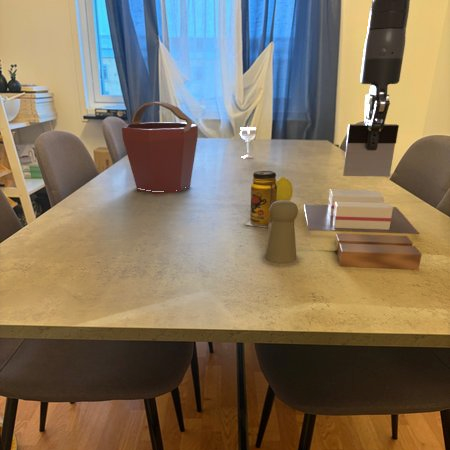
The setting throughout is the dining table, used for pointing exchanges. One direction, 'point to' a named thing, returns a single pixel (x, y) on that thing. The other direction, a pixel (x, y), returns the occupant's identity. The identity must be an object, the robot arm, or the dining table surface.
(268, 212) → the condiment
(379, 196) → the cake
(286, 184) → the lemon
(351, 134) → the black and beige panel
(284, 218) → the cork
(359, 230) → the cake board
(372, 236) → the wooden card holder
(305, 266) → the dining table surface
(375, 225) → the cake slice
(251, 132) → the wineglass
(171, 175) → the bucket
